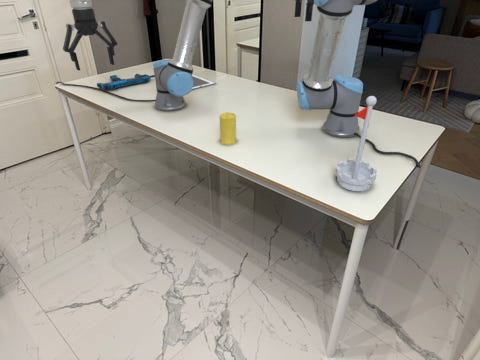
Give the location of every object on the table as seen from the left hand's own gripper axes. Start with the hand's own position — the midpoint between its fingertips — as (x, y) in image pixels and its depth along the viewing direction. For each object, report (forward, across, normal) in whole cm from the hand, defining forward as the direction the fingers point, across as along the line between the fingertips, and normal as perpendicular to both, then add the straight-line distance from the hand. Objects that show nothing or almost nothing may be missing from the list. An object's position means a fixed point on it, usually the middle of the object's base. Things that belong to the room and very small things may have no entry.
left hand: (95, 66), depth 137 cm
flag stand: (+27, +50, -93) cm, 110 cm away
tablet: (+27, +63, +41) cm, 80 cm away
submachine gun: (+27, +32, +62) cm, 75 cm away
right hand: (-13, +87, -29) cm, 93 cm away
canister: (+27, +35, -42) cm, 61 cm away
